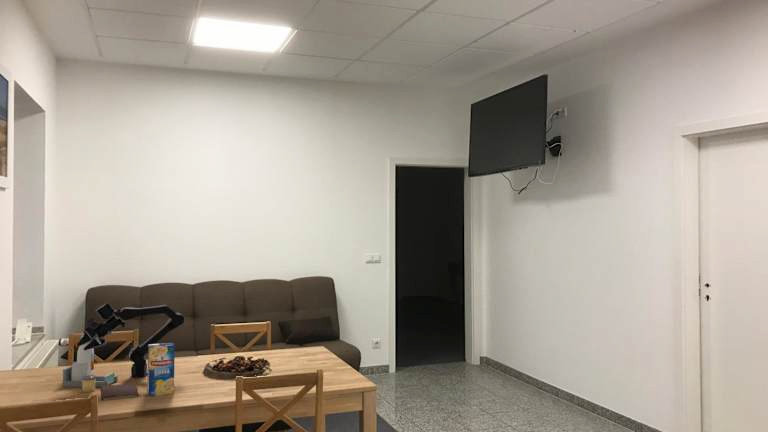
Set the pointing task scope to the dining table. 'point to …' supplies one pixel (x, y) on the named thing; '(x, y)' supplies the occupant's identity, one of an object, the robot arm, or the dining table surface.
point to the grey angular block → (79, 371)
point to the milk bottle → (86, 357)
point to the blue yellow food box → (160, 369)
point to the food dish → (235, 368)
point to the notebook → (119, 391)
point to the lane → (69, 383)
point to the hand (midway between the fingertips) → (80, 347)
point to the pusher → (109, 378)
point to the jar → (89, 383)
